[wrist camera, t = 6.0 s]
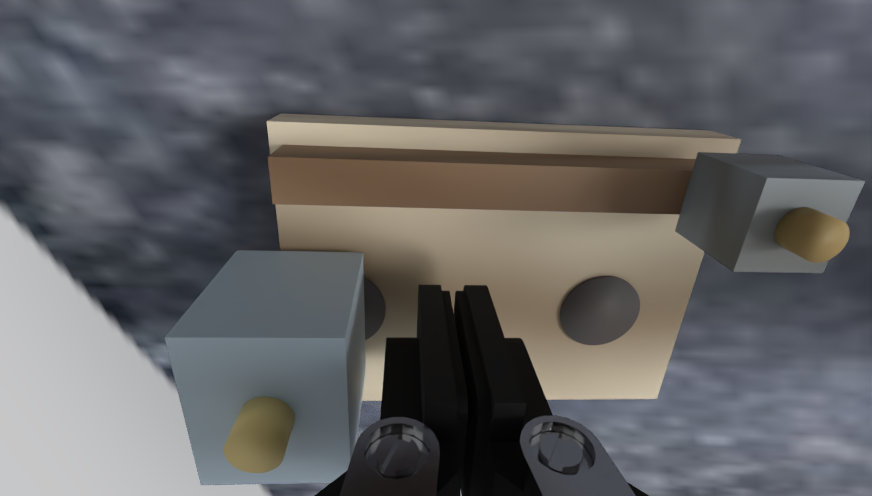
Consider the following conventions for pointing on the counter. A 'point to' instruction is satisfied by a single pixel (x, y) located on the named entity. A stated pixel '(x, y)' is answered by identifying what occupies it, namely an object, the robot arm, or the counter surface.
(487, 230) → the board
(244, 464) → the blue block with knob
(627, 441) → the counter surface
